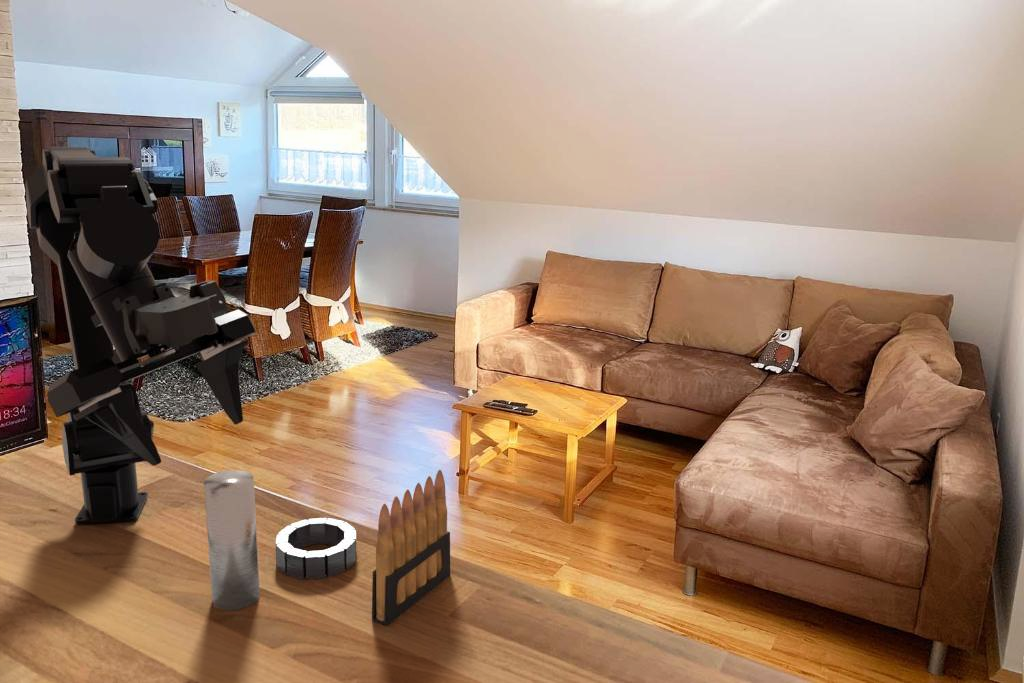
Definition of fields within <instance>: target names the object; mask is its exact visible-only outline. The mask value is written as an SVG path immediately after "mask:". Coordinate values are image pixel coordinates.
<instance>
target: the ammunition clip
mask: <svg viewBox="0 0 1024 683" xmlns="http://www.w3.org/2000/svg"><path fill="white" fill-rule="evenodd" d="M377 527H378V529H377V531H378V532H377V541H376V545H375V546H376V547H375V567H376V568H375V569H374V570H373V571H372V583H371V584H372V587H371V588H372V590H371V592H372V593H371V597H372V598H371V602H372V603H371V620H372V621H374V622H377V623H380V624H381V625H384V626H390V625H391V624H393V623H394V621H397V619H399V618H400V617H401V616H402V615H403V614H405V613H406V612H407V611H408V610H409V609H411V608H412V607H413V606H414V605H416V604H417V603H419V601H420V600H422V599H423V598H425V597H426V596H427V595H428V594H429V593H430V592H432V591H433V590H434V589H435V588H437V587H438V586H439V585H441V584H442V583H443V582H444V581H445V580H447V578H450V576H451V532H450V531H448V507H447V496H446V482H445V478H444V474H443V471H442V469H438V471H437V472H436V475H435V479H434V481H433V479H432V477H431V476H430V475H428V477H427V478H426V481H425V483H424V487H422V485H421V483H420V482H417V483H416V485H415V487H414V491H413V495H412V493H411V492H410V490H409V489H406V490H405V492H404V493H403V498H402V503H401V501H400V499H399V497H398V496H394V498H393V501H392V504H391V508H390V510H389V507H388V505H387V504H386V503H383V504H382V506H381V509H380V512H379V516H378V524H377Z"/></svg>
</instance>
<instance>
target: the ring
mask: <svg viewBox="0 0 1024 683" xmlns="http://www.w3.org/2000/svg"><path fill="white" fill-rule="evenodd" d="M310 545H330V546H331V547H330V548H329V547H328V548H326V549H322V550H309V551H308V550H304V549H301V548H304V547H308V546H310ZM275 560H276V567H277V568H278V569H279V570H280V571H282V573H284V575H287V576H288V577H293V578H297V579H302V580H304V579H306V580H318V579H326V577H327V578H331V577H334V576H336V575H339V574H342V573H344V572H345V571H347V570H349V569H350V568H351V567H352V566H353V565H354V564H355V563H357V562H356V561H357V530H356V528H354V526H352V525H351V524H350V523H348V522H347V521H344V520H339V519H336V518H330V517H328V518H327V517H318V518H314V517H313V518H308V519H306V518H305V519H302V520H300V521H297V522H293V523H290V525H287V526H285V527H284V528H283V529H281V530H280V531H278V533H277V534H276V538H275Z"/></svg>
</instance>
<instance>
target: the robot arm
mask: <svg viewBox="0 0 1024 683" xmlns="http://www.w3.org/2000/svg"><path fill="white" fill-rule="evenodd" d="M143 176H144V175H143V173H142V171H141V169H139V168H135V165H134V162H133V161H132V159H131V158H130V157H128V156H127V157H126V156H125V157H124V156H117V157H116V156H112V157H111V156H109V157H108V156H107V157H105V156H102V157H99V156H97V154H96V151H95V149H93V148H91V149H90V148H88V147H87V146H50V147H49V148H48V149H44V148H43V149H42V163H41V165H40V166H39V167H37V168H36V169H35V170H34V171H33V172H32V173H31V174H30V175H29V176H28V177H27V178H26V180H25V196H26V197H25V201H26V212H27V218H28V220H27V221H28V225H29V229H31V230H34V229H36V235H37V236H36V237H37V241H38V245H39V248H40V250H41V251H42V252H43V253H44V254H46V255H47V257H48V258H49V259H50V260H52V261H53V263H54V264H55V265H57V268H58V275H59V281H60V286H61V292H62V299H63V304H64V310H65V316H66V323H67V329H68V334H69V339H70V346H71V351H72V352H71V354H72V357H73V358H72V359H73V364H74V370H72V371H69V372H68V373H66V374H65V375H63V376H61V377H60V378H59V379H57V380H55V381H54V382H52V383H51V384H50V385H48V388H47V392H46V395H47V402H48V403H49V406H50V408H51V410H52V411H53V413H54V415H55V417H56V418H59V417H62V416H65V415H66V417H67V421H65V422H62V429H61V430H62V434H61V435H62V436H61V440H62V441H61V444H62V451H63V458H64V463H65V466H66V468H67V472H68V475H69V476H75V475H77V474H80V477H81V486H82V488H81V489H82V495H83V496H82V497H83V505H82V507H81V509H80V511H79V512H78V513H77V515H76V516H75V518H74V522H75V524H77V525H84V524H105V523H120V522H121V523H122V522H123V523H125V522H134V521H136V520H138V518H139V516H140V514H141V512H142V510H143V507H144V506H145V504H146V501H147V499H148V496H149V495H148V492H146V491H145V492H143V491H139V488H138V476H137V468H136V467H137V466H136V464H137V463H142V462H146V463H147V462H148V463H149V464H150V465H151V466H157V465H159V464H161V463H162V458H161V456H160V453H159V451H158V449H157V446H156V445H155V443H154V441H153V438H154V430H155V428H154V427H155V423H154V421H153V420H151V419H150V417H149V416H148V414H147V411H146V410H145V409H143V410H141V406H140V401H139V396H138V393H137V390H136V387H135V386H134V385H133V384H132V383H130V382H129V381H132V380H134V379H137V378H138V377H142V376H144V375H146V374H150V373H152V372H154V371H156V370H159V369H161V368H164V367H167V366H168V365H171V364H174V363H176V362H179V361H181V360H184V359H187V358H189V357H192V356H194V355H195V356H198V357H200V358H202V360H203V361H201V362H199V363H197V364H196V367H197V369H198V371H199V372H200V373H201V375H202V378H203V379H204V380H205V382H206V383H207V385H208V387H209V388H210V390H211V392H212V394H213V395H214V396H215V398H216V400H217V401H218V404H220V406H221V408H222V410H223V411H224V413H225V415H226V416H227V417H228V418H229V419H230V421H231V422H232V423H233V425H239V424H240V423H242V422H244V416H243V415H244V414H243V406H242V398H241V397H242V396H241V388H240V379H239V378H240V376H239V374H240V372H239V370H240V369H239V367H240V360H241V356H242V353H243V350H244V348H246V347H248V346H249V345H250V340H249V339H246V338H248V337H250V336H252V335H253V334H256V333H257V332H258V331H257V329H256V327H255V325H254V322H253V321H252V319H251V316H249V315H248V314H247V313H245V312H244V311H241V310H240V309H239V308H238V309H236V310H233V311H230V312H228V311H229V310H228V304H227V300H226V297H225V294H224V293H223V292H222V290H221V288H220V286H219V285H218V283H217V281H216V280H204V281H201V282H199V283H196V284H193V285H190V287H189V294H186V295H183V296H179V297H178V296H177V297H176V296H175V295H174V294H173V290H172V289H171V287H169V286H168V285H167V283H166V282H163V283H160V284H158V283H157V282H156V280H155V278H154V275H153V273H152V271H151V269H150V268H149V266H148V262H149V261H150V259H151V257H152V255H153V253H154V252H155V250H156V249H157V247H158V244H159V241H160V227H159V226H160V225H159V222H157V220H156V218H155V213H158V199H157V197H156V195H155V193H154V192H153V189H152V188H151V186H150V184H149V182H148V181H147V180H146V179H145V178H144V177H143ZM244 339H246V340H244ZM163 350H164V352H163ZM115 352H116V354H115ZM147 356H148V357H149V358H146V359H144V360H142V361H139V360H140V359H142V358H145V357H147ZM127 382H128V383H127Z"/></svg>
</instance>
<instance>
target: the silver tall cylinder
mask: <svg viewBox="0 0 1024 683" xmlns="http://www.w3.org/2000/svg"><path fill="white" fill-rule="evenodd" d="M254 480H255V479H254V475H253V474H252V473H250V472H248V471H244V470H239V469H238V470H236V469H232V470H223V471H220V472H219V471H218V472H216V473H213V474H210V475H209V476H208V477H207V478H206V479H204V481H203V486H204V489H203V490H204V500H205V502H204V503H205V504H204V505H205V514H206V516H205V517H206V527H207V528H206V530H207V531H206V532H207V545H208V556H209V557H208V559H209V560H208V561H209V572H210V584H211V585H210V587H211V589H210V590H211V601H212V604H213V606H214V607H215V608H216V609H218V610H222V611H225V612H226V611H229V612H230V611H231V612H232V611H241V610H245V609H247V608H249V607H252V605H254V604H255V603H257V602H258V601H259V599H260V596H261V594H260V574H259V556H258V555H259V553H258V552H259V551H258V537H257V536H258V535H257V518H256V517H257V514H256V500H255V498H256V497H255V481H254Z"/></svg>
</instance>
